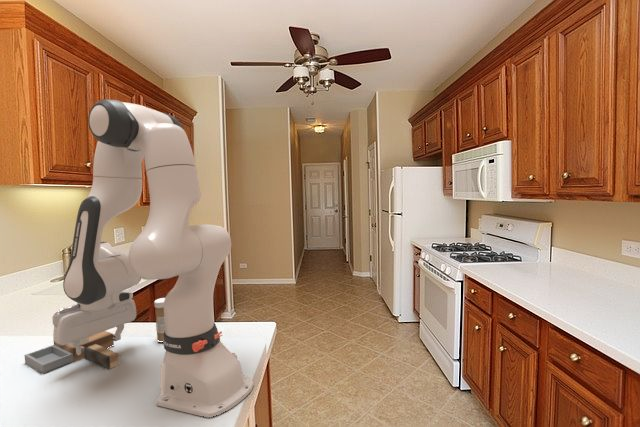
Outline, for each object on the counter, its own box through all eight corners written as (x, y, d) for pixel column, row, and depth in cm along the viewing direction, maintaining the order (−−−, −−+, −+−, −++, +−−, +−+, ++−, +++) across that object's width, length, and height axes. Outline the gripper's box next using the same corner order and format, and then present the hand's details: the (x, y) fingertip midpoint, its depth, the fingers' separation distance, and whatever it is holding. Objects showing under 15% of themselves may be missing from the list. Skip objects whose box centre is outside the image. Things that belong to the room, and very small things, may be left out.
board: (113, 346, 104) (112, 333, 103) (73, 362, 94) (72, 348, 94) (94, 338, 110) (93, 326, 110) (54, 352, 100) (53, 340, 100)
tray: (73, 362, 94) (72, 353, 94) (43, 374, 88) (42, 365, 88) (54, 352, 100) (53, 344, 100) (25, 363, 94) (24, 355, 94)
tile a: (89, 341, 98) (88, 335, 98) (73, 347, 95) (73, 340, 94) (82, 339, 100) (81, 332, 100) (67, 344, 97) (66, 337, 97)
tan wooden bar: (118, 365, 92) (117, 353, 92) (107, 370, 90) (106, 357, 90) (96, 355, 98) (95, 343, 98) (85, 359, 96) (84, 348, 96)
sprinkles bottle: (160, 337, 109) (157, 297, 108) (174, 336, 109) (172, 296, 108) (154, 344, 104) (151, 302, 103) (169, 343, 105) (167, 301, 104)
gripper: (57, 313, 83) (61, 366, 84) (138, 291, 100) (140, 335, 101) (46, 309, 86) (50, 360, 87) (126, 288, 103) (128, 331, 105)
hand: (99, 346), depth 94 cm, fingers open, 8 cm apart
